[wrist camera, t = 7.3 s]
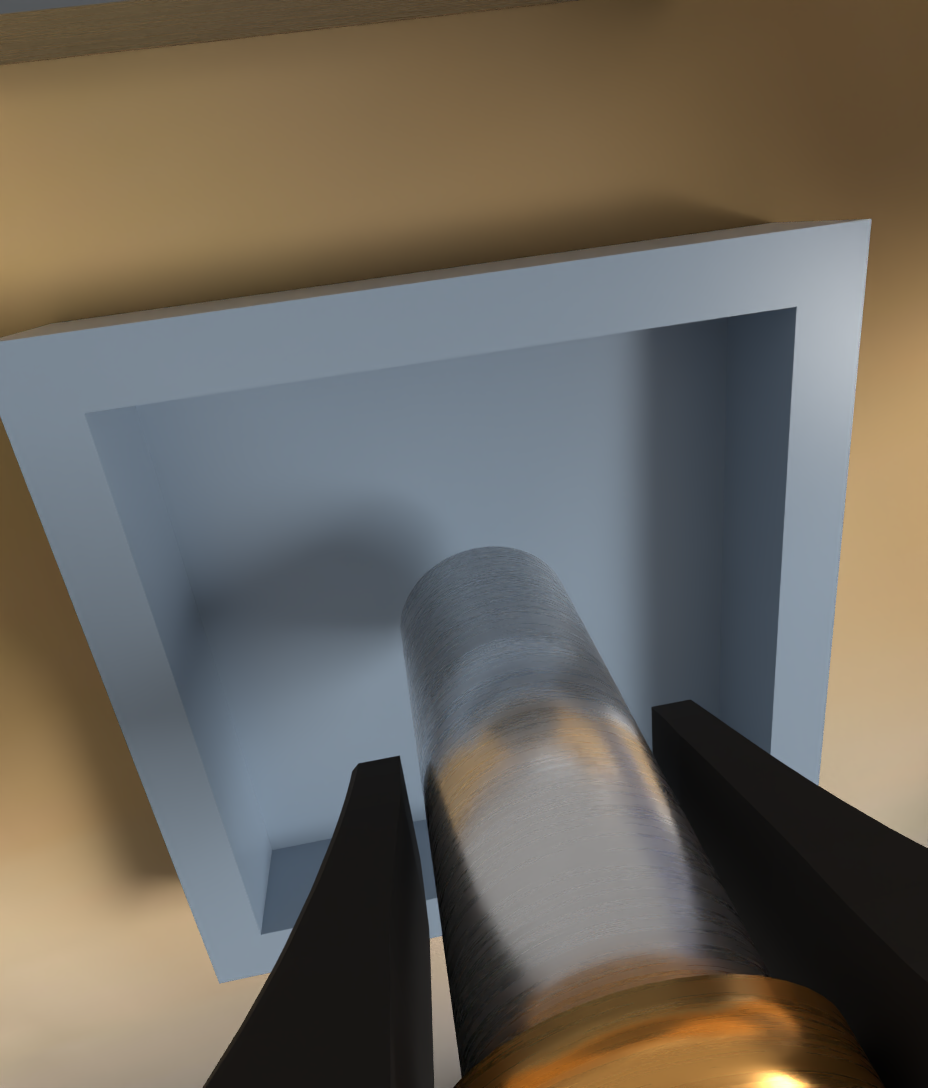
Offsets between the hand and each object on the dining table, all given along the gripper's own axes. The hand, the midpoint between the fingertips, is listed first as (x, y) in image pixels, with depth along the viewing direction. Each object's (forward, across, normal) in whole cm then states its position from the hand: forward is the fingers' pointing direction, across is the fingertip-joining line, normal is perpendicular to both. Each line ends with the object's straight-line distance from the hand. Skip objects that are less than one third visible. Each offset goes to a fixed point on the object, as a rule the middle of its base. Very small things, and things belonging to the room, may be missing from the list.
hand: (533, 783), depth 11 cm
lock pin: (+3, 0, -1) cm, 4 cm away
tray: (+6, 0, 0) cm, 6 cm away
